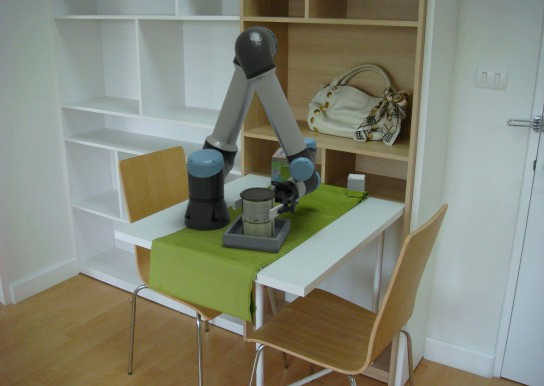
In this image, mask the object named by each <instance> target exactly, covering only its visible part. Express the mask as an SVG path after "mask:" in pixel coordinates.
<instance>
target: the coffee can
mask: <svg viewBox="0 0 544 386" xmlns="http://www.w3.org/2000/svg"><path fill="white" fill-rule="evenodd" d="M240 193H241V196H242V207H241V214H242V235H246V236H256V237H265V238H273V237H274V236H275V234H274V218H273V219H269V210H271V209H273V208H274V207H276V205H275V203H276V202H275V192H274V191H273V190H271V188H269V187H268V188H267V187H260V186H259V187H248V188H246V189H243V190H242V191H241V192H240Z"/></svg>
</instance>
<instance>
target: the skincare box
mask: <svg viewBox="0 0 544 386" xmlns="http://www.w3.org/2000/svg"><path fill="white" fill-rule="evenodd" d="M365 184H366V175H365V174H355V173H349V175H348V177H347V187H346V188H347V189H346V190H350V191H360V192H364V193H365V189H366V188H365Z"/></svg>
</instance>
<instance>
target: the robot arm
mask: <svg viewBox="0 0 544 386" xmlns="http://www.w3.org/2000/svg"><path fill="white" fill-rule="evenodd" d="M277 51H278V40H277V38H276V36H275V34H274V33H273V32H272V31H271V30H270V29H268V28H267V27H264V26H259V25H258V26H257V25H256V26H252V27H249V28H248V29H245V30H244V31H242V32H240V34H239V35H237V37H236V39H235V41H234V54H235V55H234V58H233V61H232V64H233V66H234V72H233V75H232V78H231V80H230V83H229V86H228V89H227V91H226V94H225V97H224V100H223V102H222V106H221V108H220V111H219V114H218V117H217V120H216V123H215V125H214V128H213V131H212V134H210V135H208V136H206V137H205V140H204V142H203V145H202V149H198V150H195V151H193V152H191V153H190V154H189V155H188V157H187V162H186V169H187V185H188V186H187V187H188V188H187V190H188V202H187V205H186V210H185V213H184V218H183V219H184V224H185V226H187V227H188V228H190V229H193V230H199V231H208V230H209V231H210V230H217V229H221V228H224V227H226V226H228V225H229V224H231V223H230V222H231V214H230V211H229V208H228V205H227V202H226V199H225V179H227V176H228V174H229V173H230V172H231V171H232V170H233V168H234V166H235V158H236V156H237V153H238V151H239V147H238V145H237V141H238V139H239V135H240V133H241V130H242V127H243V125H244V122H245V119H246V117H247V114H248V112H249V109H250V106H251V103H252V100H253V98H254V96H255V92H256V95H257V97H258V99H259V100H260V101H259V102H260V103H261V105H262V108H263V110H264V112H265V114H266V117H267V118H268V121H269V123H270V126H271V128H272V130H273V132H274V134H275V137H276V139H277V141H278V143H279V146H280V148H282V150H283V152H284V154H285V157H286V159H287V162H288V164H289V171H290V174H291V176H292V178H290V179H287V180H285V181H283V182H281V183H279V184H277V185H276V187H275V188H274V189H273V191H274V192H275V203H277V204H278V205H277V206H276V205H275V207H274V208H273V209H271V210H269V219H273V218H277V217H279V216H280V215H283V214H286V213H287V214H288V213H290V214H294V213H295V211H296V207H297V205H298V204H299V203H300V202H299V201H300V199H301V198H303V197H305V196H308V195H309V194H311V193H313V192H314V191H316V190H317V189H318V188H319V187H320V186H321V183H322V179H321V176H320V173H319V172H318V171H317V151H318V146H317V145H318V144H317V140H316V139H315V138H312V137H303V134H302V131H301V130H300V127H299V125H298V122H297V120H296V118H295V116H294V114H293V111H292V108H291V106H290V104H289V101H288V99H287V97H286V95H285V93H284V91H283V88H282V85H281V84H280V81H279V79H278V77H277V74H276V70H277V66H276V63H275V61H274V60H275V59H274V57H275V56H276V54H277ZM279 203H280V204H279ZM239 208H242V196H241V192H239V197H238V198H236V199H234V200H232V210H235V211H236V210H238V209H239Z"/></svg>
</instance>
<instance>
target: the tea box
mask: <svg viewBox="0 0 544 386" xmlns="http://www.w3.org/2000/svg"><path fill="white" fill-rule="evenodd" d="M270 169H271V170H270V189H271V190H273V189H274V188H275V187H276V185H277V184H279V183H281V182H283V181H285V180H287V179H290V178H292V176H291V174H290V171H289V164H288V162H287V159H286V157H285V154H284V152H283V150H282V148H281V147H278V148H277V150H276V151H275V152H274V153H273V155H272V156H271V168H270Z"/></svg>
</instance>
